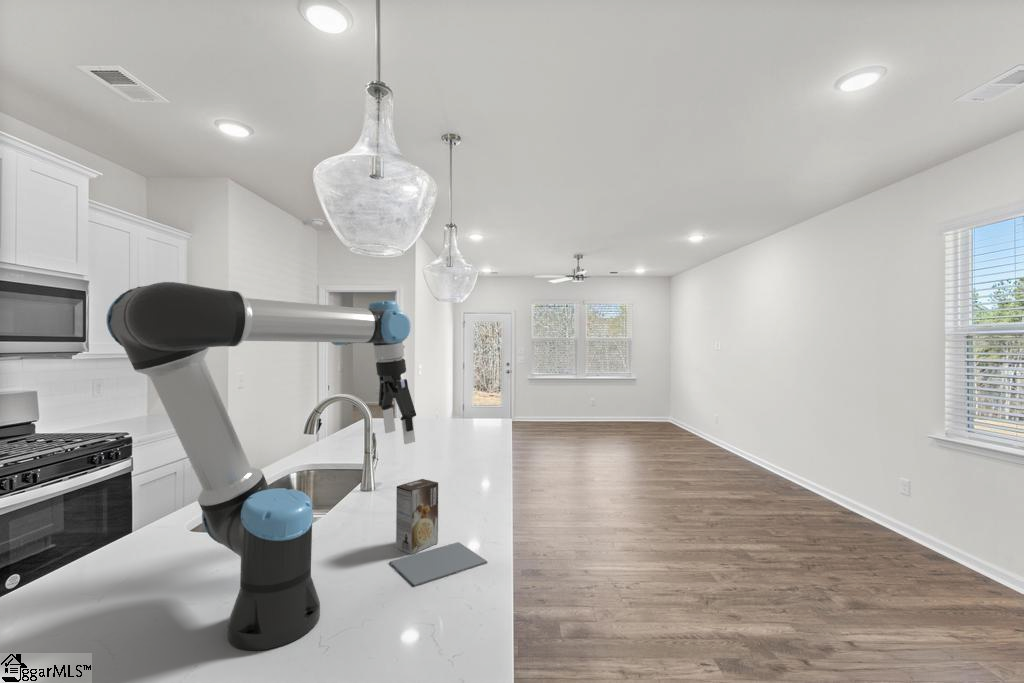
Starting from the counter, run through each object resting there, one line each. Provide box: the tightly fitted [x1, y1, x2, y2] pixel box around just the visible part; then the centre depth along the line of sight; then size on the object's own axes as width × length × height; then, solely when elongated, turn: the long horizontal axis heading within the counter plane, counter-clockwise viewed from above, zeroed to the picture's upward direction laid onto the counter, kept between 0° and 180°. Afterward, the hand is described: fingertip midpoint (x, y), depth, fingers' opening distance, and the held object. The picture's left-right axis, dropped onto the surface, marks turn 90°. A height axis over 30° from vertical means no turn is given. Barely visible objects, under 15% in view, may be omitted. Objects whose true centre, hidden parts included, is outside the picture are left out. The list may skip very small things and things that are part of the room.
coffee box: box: [395, 478, 439, 555], centre depth 119 cm, size 9×6×16 cm
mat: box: [389, 541, 488, 587], centre depth 110 cm, size 19×14×1 cm
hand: (399, 437), depth 124 cm, fingers open, 13 cm apart
